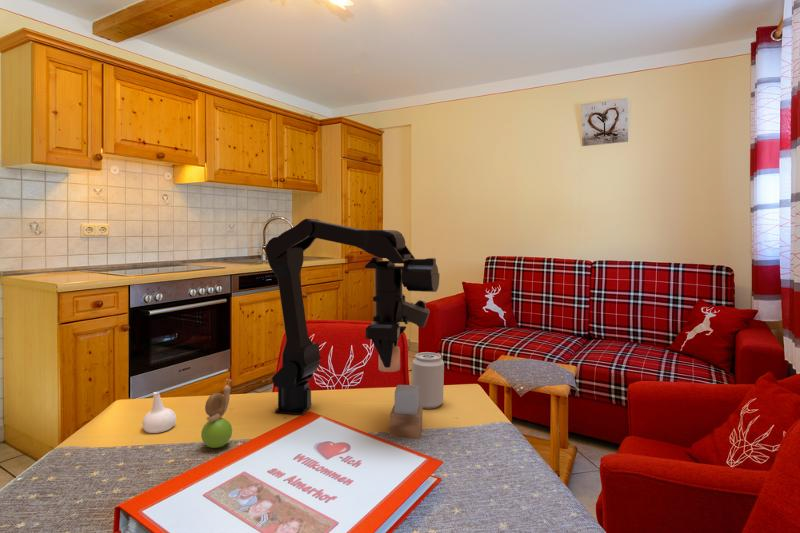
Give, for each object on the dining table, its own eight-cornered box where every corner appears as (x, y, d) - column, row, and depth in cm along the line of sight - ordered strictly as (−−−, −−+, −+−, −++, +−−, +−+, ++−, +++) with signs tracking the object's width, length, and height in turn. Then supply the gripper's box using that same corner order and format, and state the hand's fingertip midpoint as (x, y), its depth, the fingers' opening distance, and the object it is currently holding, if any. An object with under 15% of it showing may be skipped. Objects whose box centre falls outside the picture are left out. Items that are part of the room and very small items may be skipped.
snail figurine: (241, 440, 91) (241, 380, 90) (218, 455, 85) (218, 390, 84) (218, 436, 93) (218, 377, 92) (194, 450, 87) (193, 387, 86)
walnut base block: (389, 437, 94) (389, 415, 93) (394, 425, 100) (394, 404, 99) (419, 439, 93) (419, 417, 93) (422, 427, 99) (422, 406, 99)
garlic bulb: (182, 423, 99) (181, 387, 98) (163, 436, 93) (162, 397, 92) (155, 421, 100) (155, 385, 99) (135, 433, 94) (134, 395, 93)
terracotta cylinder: (376, 371, 96) (376, 350, 96) (380, 365, 101) (380, 345, 101) (398, 372, 96) (398, 350, 96) (401, 366, 100) (401, 345, 100)
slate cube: (394, 413, 94) (394, 391, 94) (397, 405, 99) (397, 384, 98) (416, 414, 94) (417, 393, 93) (418, 406, 98) (418, 385, 98)
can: (443, 399, 115) (444, 351, 114) (442, 410, 108) (444, 359, 107) (412, 397, 116) (413, 350, 115) (410, 409, 108) (411, 358, 108)
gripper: (423, 296, 87) (423, 379, 88) (430, 285, 105) (431, 354, 106) (364, 295, 88) (365, 376, 89) (382, 285, 107) (382, 352, 108)
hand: (389, 364), depth 98 cm, fingers closed on terracotta cylinder, 4 cm apart
